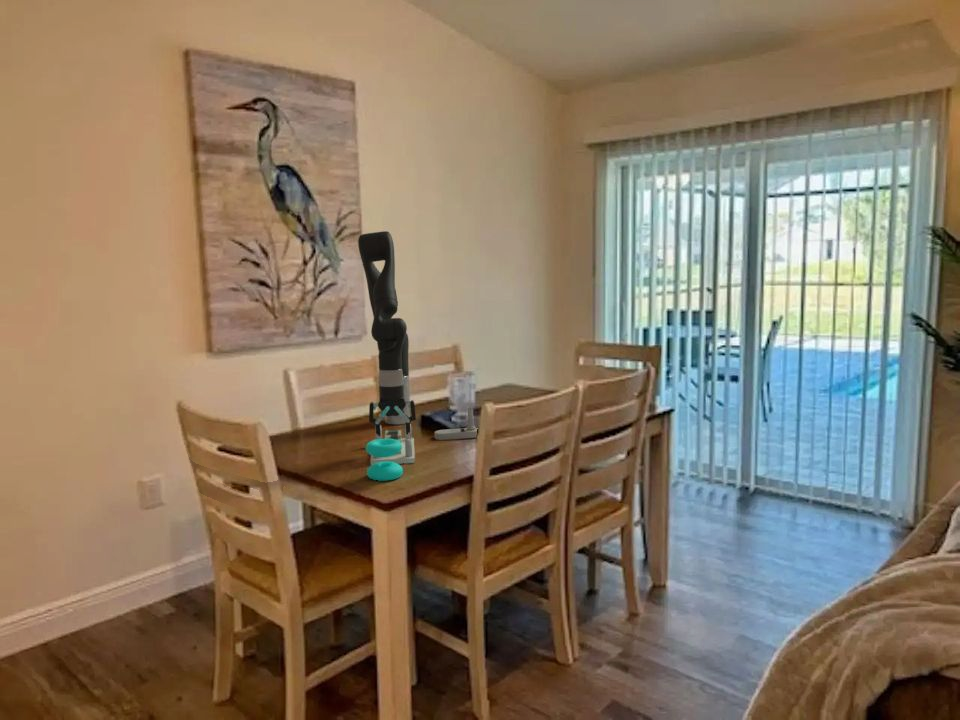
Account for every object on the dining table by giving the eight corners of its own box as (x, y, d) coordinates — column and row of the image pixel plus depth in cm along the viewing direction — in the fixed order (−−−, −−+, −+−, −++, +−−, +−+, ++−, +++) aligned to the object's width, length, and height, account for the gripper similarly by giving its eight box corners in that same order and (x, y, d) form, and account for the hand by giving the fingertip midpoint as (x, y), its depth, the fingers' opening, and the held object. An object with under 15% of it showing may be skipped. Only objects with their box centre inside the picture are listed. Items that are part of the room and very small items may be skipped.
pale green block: (385, 442, 239) (385, 428, 238) (401, 442, 240) (401, 427, 239) (384, 454, 225) (384, 439, 225) (401, 454, 226) (400, 438, 225)
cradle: (373, 444, 244) (373, 424, 243) (413, 442, 245) (413, 422, 244) (370, 465, 220) (369, 443, 219) (415, 462, 222) (414, 441, 221)
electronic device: (432, 409, 251) (477, 406, 252) (434, 437, 253) (478, 434, 254) (433, 413, 246) (478, 409, 247) (435, 441, 247) (480, 438, 249)
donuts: (406, 437, 211) (395, 447, 202) (407, 472, 213) (397, 483, 203) (372, 436, 213) (360, 446, 203) (373, 470, 215) (362, 481, 205)
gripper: (414, 380, 234) (416, 430, 236) (368, 382, 232) (370, 432, 235) (414, 384, 226) (416, 436, 229) (367, 386, 225) (369, 439, 228)
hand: (393, 434), depth 232 cm, fingers open, 8 cm apart
